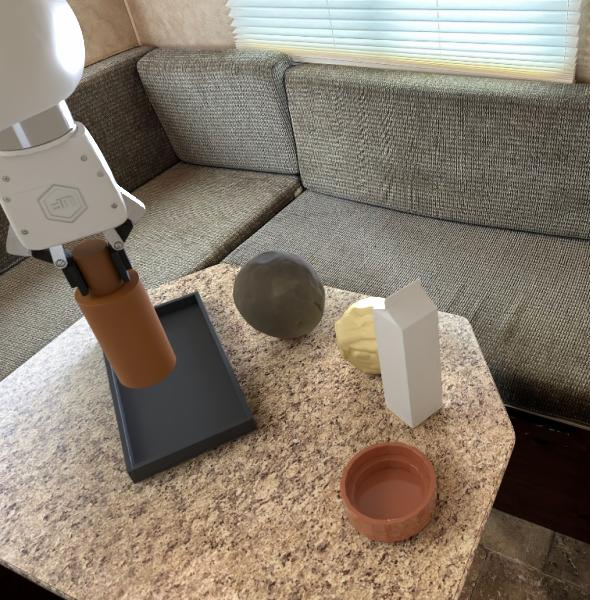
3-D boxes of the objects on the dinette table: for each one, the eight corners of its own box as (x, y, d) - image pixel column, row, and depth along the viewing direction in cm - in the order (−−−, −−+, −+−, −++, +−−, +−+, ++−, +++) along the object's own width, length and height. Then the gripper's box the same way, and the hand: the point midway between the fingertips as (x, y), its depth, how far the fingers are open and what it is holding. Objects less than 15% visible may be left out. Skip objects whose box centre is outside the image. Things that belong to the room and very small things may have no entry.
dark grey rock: (309, 294, 111) (293, 224, 101) (345, 336, 101) (331, 263, 92) (236, 325, 106) (212, 255, 96) (267, 373, 96) (243, 300, 87)
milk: (443, 406, 88) (438, 288, 74) (412, 430, 85) (401, 311, 71) (415, 384, 92) (405, 267, 78) (384, 406, 89) (368, 289, 75)
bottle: (122, 397, 72) (55, 276, 60) (115, 361, 77) (52, 243, 65) (181, 374, 74) (127, 253, 63) (170, 341, 79) (118, 223, 68)
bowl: (369, 562, 71) (365, 542, 68) (331, 487, 79) (325, 466, 76) (454, 515, 74) (453, 494, 71) (409, 449, 83) (406, 428, 80)
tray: (134, 484, 82) (126, 472, 80) (103, 336, 106) (97, 325, 105) (258, 429, 87) (254, 417, 86) (202, 301, 112) (197, 290, 110)
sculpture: (340, 387, 92) (328, 335, 85) (344, 334, 102) (334, 283, 95) (414, 382, 92) (409, 330, 85) (412, 329, 101) (407, 278, 94)
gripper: (-80, 164, 50) (25, 329, 62) (126, 113, 55) (187, 274, 67) (-72, 134, 55) (23, 290, 67) (115, 90, 61) (174, 242, 72)
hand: (104, 281), depth 67 cm, fingers closed on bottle, 3 cm apart
